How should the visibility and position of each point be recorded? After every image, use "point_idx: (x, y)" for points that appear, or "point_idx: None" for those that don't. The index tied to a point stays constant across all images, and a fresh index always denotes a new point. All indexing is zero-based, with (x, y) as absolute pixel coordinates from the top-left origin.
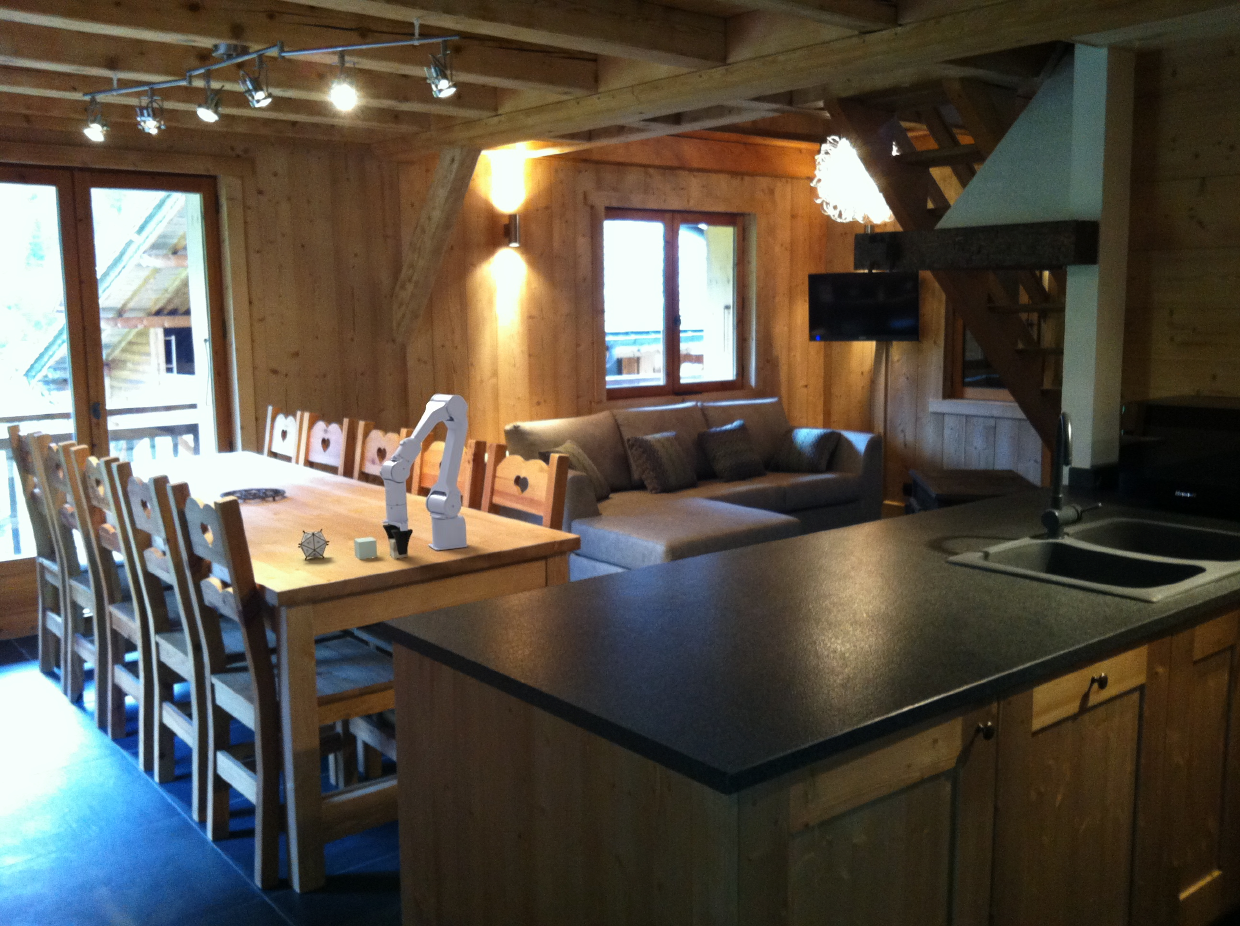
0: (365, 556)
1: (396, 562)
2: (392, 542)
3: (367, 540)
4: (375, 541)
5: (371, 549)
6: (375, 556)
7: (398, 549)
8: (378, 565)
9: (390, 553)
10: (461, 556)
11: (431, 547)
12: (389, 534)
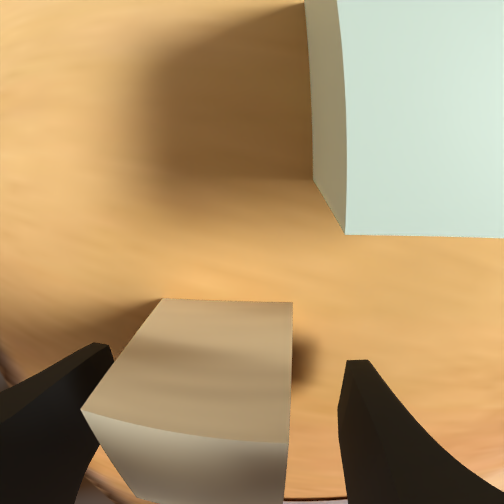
0: (310, 50)
1: (59, 279)
2: (108, 403)
3: (433, 43)
4: (343, 205)
5: (319, 113)
6: (314, 162)
7: (57, 365)
8: (23, 141)
9: (270, 318)
10: (128, 494)
11: (341, 500)
12: (388, 495)
